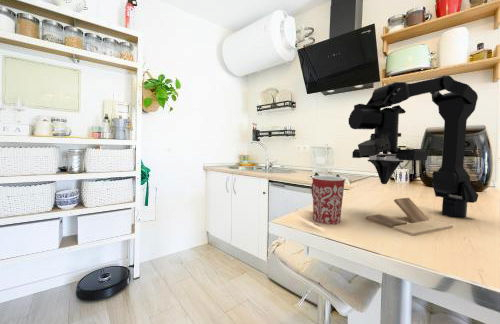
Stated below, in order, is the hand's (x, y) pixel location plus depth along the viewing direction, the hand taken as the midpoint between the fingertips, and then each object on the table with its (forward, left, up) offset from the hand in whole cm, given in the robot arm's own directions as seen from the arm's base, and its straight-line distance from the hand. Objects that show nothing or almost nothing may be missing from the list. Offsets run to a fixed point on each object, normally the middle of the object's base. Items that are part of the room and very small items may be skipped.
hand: (384, 184), depth 63 cm
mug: (+15, -7, -12) cm, 21 cm away
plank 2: (-8, +3, -8) cm, 12 cm away
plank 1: (+1, +2, -11) cm, 11 cm away
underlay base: (-4, +4, -12) cm, 13 cm away
